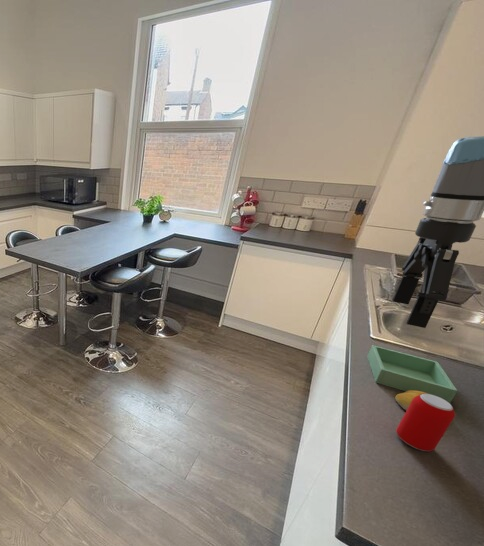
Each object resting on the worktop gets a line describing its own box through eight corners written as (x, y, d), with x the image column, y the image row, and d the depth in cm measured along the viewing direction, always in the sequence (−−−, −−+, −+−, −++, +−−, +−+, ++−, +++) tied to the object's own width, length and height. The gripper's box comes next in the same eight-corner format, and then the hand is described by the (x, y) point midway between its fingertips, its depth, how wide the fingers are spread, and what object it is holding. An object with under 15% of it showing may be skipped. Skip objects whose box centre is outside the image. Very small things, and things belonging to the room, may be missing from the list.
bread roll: (387, 401, 82) (393, 389, 81) (409, 394, 85) (415, 382, 83) (428, 426, 75) (435, 413, 73) (451, 417, 77) (458, 405, 76)
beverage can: (440, 452, 68) (467, 410, 64) (417, 455, 67) (442, 413, 63) (408, 429, 74) (431, 389, 69) (387, 432, 73) (408, 392, 68)
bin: (431, 374, 93) (437, 361, 91) (449, 404, 81) (457, 390, 80) (366, 356, 100) (372, 344, 98) (375, 382, 89) (381, 369, 87)
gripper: (407, 210, 74) (375, 291, 82) (442, 227, 55) (397, 331, 62) (453, 213, 70) (415, 298, 78) (508, 233, 51) (451, 343, 58)
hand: (407, 313), depth 70 cm, fingers open, 13 cm apart
